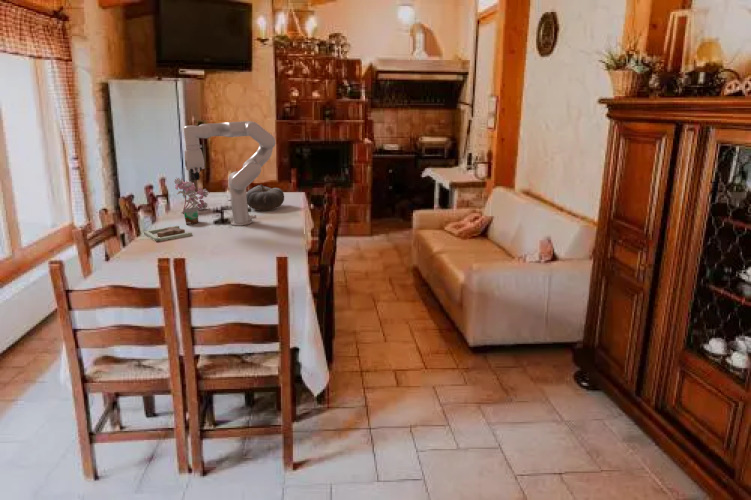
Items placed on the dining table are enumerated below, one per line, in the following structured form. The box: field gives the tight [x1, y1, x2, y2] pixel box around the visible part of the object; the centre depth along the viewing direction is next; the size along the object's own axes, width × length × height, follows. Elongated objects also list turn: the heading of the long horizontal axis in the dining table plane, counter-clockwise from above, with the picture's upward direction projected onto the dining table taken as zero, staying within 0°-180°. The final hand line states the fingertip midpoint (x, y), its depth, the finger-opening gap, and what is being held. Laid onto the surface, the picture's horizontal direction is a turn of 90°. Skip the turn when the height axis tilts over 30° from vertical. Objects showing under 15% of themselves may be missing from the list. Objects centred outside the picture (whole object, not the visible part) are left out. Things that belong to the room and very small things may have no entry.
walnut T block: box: [156, 226, 186, 238], centre depth 312 cm, size 12×13×3 cm
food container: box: [182, 204, 200, 226], centre depth 339 cm, size 12×6×10 cm, turn 168°
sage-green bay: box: [143, 224, 193, 242], centre depth 314 cm, size 20×23×2 cm
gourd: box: [246, 184, 285, 212], centre depth 372 cm, size 25×25×17 cm
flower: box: [173, 176, 210, 214], centre depth 370 cm, size 20×22×24 cm
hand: (196, 179), depth 319 cm, fingers closed
